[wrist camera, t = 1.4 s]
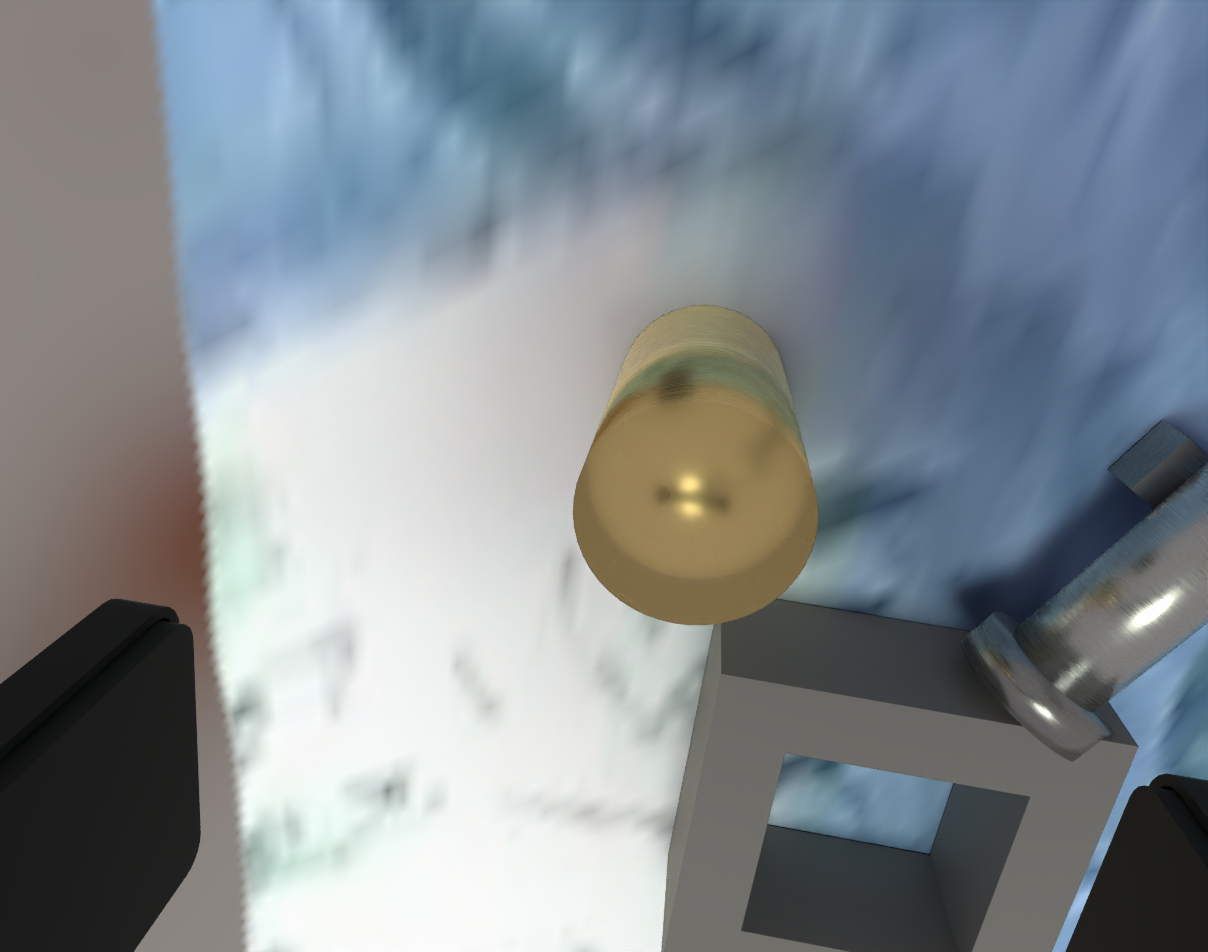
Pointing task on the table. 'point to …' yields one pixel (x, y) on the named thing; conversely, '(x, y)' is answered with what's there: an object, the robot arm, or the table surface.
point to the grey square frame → (885, 742)
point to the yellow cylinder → (698, 474)
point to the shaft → (1108, 606)
